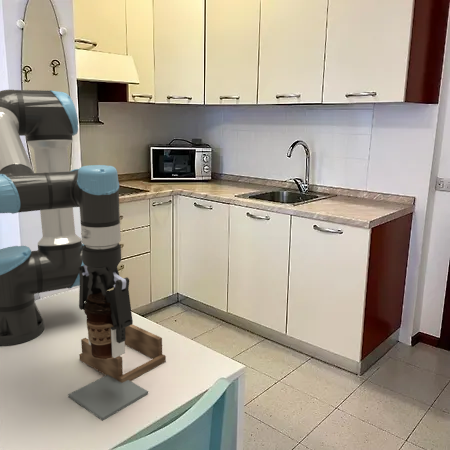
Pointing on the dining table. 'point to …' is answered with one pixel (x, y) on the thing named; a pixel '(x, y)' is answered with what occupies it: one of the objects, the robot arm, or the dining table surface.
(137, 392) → the coaster
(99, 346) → the coffee cup
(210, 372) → the dining table surface
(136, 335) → the rack
